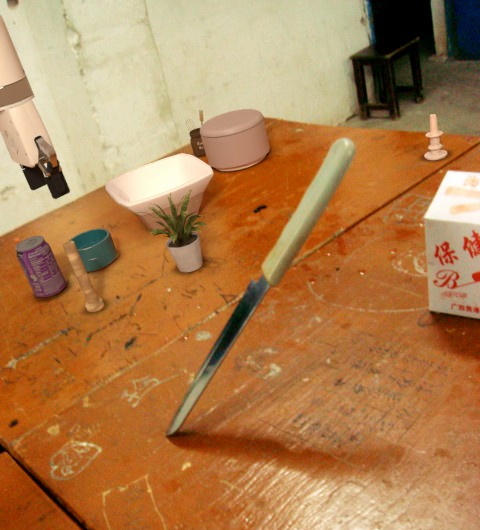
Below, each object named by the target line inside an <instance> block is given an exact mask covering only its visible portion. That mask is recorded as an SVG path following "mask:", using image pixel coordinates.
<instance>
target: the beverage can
mask: <svg viewBox="0 0 480 530" xmlns="http://www.w3.org/2000/svg"><path fill="white" fill-rule="evenodd" d="M14 249H15V251H16V258H17V261H18V263H19V265H20V267H21V269H22V271H23V273H24V275H25V277H26V279H27V282H28V284H29V286H30V288H31V290H32V292H33V294H34V296H35V297H36V298H50V297H54V296H55V295H57V294H59V293H60V292H62V290H63V289H64V288H65V287H66V286H67V280H66V279H65V276H64V274H63V272H62V270H61V268H60V265H59V263H58V261H57V259H56V256H55V254H54V252H53V249H52V247H51V245H50V243H49V242H48V241H46V239H45V238H44V236H43V235H33V236H29V237H26V238H25V239H22V240H21V241H19V242H18V243H17V244H16V245H15V247H14Z"/></svg>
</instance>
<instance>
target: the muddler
mask: <svg viewBox="0 0 480 530" xmlns="http://www.w3.org/2000/svg"><path fill="white" fill-rule="evenodd" d="M62 247H63V250H64V253H65V254H66V256H67V259H68V261H69V263H70V265H71V268H72V270H73V272H74V275H75V278H76V279H77V281H78V285H79V286H80V289H81V291H82V293H83V296H84V298H85V300H86V303H85V304H84V307H85V309H86V311H87V312H88V313H97V312H98V311H101V310H102V309H103V308H104V307H105V302H104V301H103V300H104V299H103V298H102V297H98V294H97V292H96V289H95V287H94V285H93V283H92V281H91V278H90V276H89V274H88V273H89V272H87V271H86V269H85V266H84V264H83V262H82V259H81V257H80V254H79V252H78V250H77V247H76V245H75V243H74V241H69V240H68V241H66V242H64V243H63V244H62Z"/></svg>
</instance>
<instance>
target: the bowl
mask: <svg viewBox="0 0 480 530" xmlns="http://www.w3.org/2000/svg"><path fill="white" fill-rule="evenodd" d="M213 177H214V171H213V167H211V166H210V165H209V164H208V163H206V162H204V161H203V160H202V159H200V158H199V157H197V156H195V155H194V154H193V155H192V154H188V153H185V152H184V153H183V152H181V153H178V154H174V155H171V156H167V157H164V158H161V159H158V160H155V161H153V162H150V163H147V164H143V165H141V166H138V167H136V168H134V169H131V170H129V171H126V172H124V173H122V174H119V175H118V176H116V177H113V178H111V179H109V180H107V181H106V182H105V191H106V192H107V194H108V196H110V197H111V199H112V200H113V201H114V202H115V203H116V204H117V205H118V206H120V207H122V208H124V209H125V210H127V211H129V212H131V213H133V214H134V215H135V216H136V217H137V218H138V219H139V220H140V221H141V222H142V223H143V224H144V225H145V226H146V227H147V228H148V229H149V230H151V231H152V230H153V229H161V230H164V231H165V230H166V229H165V228H164V227H163V226H161V225H160V224H158V223H156V221H158V222H160V221H161V223H164V224H165V226H166V227H167V228H168V227H169V226H168V225H167V224H166V222H165V221H164V220H163V219H162V218H160V216H158V215H157V214H155V213H154V212H153V211H152V210H150V209H149V208H151V207H153V208H155V209H157V210H158V211H160V212H161V213H162V214H163V212H162V211H161V210H160V209H159V208H158V207H157V206H156V205H158V206H159V207H160V208H161V209H162V210H163V211H164V212H165V214H166V215H171V216H172V213H171V208H170V204H169V200H168V197H169V196H170V192H171V200H172V202H173V203H174V205H175V208H176V212H177V215H180V210H181V206H182V204H183V201H184V198H185V196H186V194H187V193H188V192H189V191H190V190H191V189H192V188H193V189H192V191H191V193H190V195H189V203H188V207H187V211H186V212H190V213H186V216H187V214H188V215H189V214H191V213H193V212H195V213H193V214H192V215H199V212H200V207H201V203H202V200H203V196H204V193H205V190H206V189H207V187H208V185H209V184H210V182H211V180H212V179H213ZM184 195H185V196H184ZM167 196H168V197H167ZM183 197H184V198H183ZM182 198H183V199H182ZM181 199H182V201H181V203H180V204H179V202H180V200H181ZM198 199H200V200H198ZM197 200H198V201H197ZM195 201H197V202H196V203H195V204H194V205H193V203H194V202H195ZM149 203H152V204H149ZM154 204H156V205H154ZM178 204H179V207H178V211H177V206H178ZM192 205H193V206H192ZM148 206H151V207H148ZM191 206H192V208H191ZM147 207H148V208H147ZM190 208H191V209H190ZM189 210H190V211H189ZM196 211H197V212H196ZM135 212H145V213H135ZM146 213H148V214H146ZM149 214H150V215H149ZM151 215H152V216H151ZM163 215H164V214H163ZM153 216H154V217H153ZM164 216H165V215H164ZM186 216H185V217H186ZM190 216H191V215H190ZM190 216H189V217H190ZM157 217H158V218H157ZM189 217H188V218H189ZM155 218H157V219H155ZM172 218H173V217H172ZM188 218H187V219H186V221H185V222H187V220H188ZM154 219H155V220H154ZM159 220H160V221H159ZM173 220H174V219H173ZM153 222H154V223H153ZM151 223H152V224H151ZM169 228H170V227H169ZM169 228H168V229H169ZM170 229H171V228H170Z"/></svg>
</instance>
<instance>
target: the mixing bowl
mask: <svg viewBox="0 0 480 530" xmlns="http://www.w3.org/2000/svg"><path fill="white" fill-rule="evenodd" d="M68 241H74V243H75V245H76V247H77V250H78V252H79V254H80V257H81V259H82V262H83V264H84V266H85V269H86V271H87V273H91V272H96V271H99V270H102V269H104V268H107V266H110V265H111V263H113V262H115V259H116V258H117V257H118V253H119V252H118V250H117V246H116V244H115V242H114V240H113V236H112V235H111V231H110V230H109V229H107V228H105V227H104V228H103V227H101V228H100V227H99V228H91V229H89V230H88V229H87V230H85V231H83V232H81V233H78V234H76V235H75V236H73V237H71V238H70V239H69V240H68Z"/></svg>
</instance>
